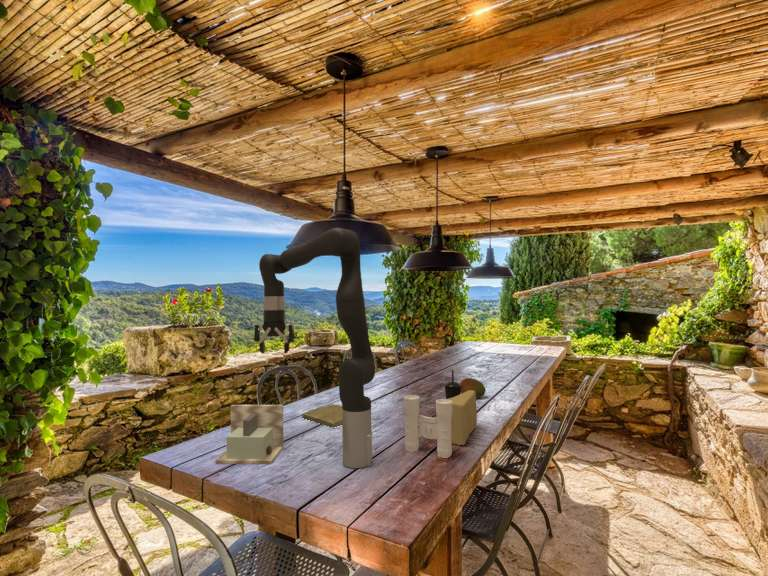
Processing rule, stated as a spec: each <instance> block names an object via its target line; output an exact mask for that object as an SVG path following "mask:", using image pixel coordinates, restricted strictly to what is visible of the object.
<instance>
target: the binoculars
mask: <svg viewBox="0 0 768 576" xmlns="http://www.w3.org/2000/svg"><path fill="white" fill-rule="evenodd" d="M403 412H404V418H405V419H404V422H405V423H404V428H405V429H404V436H405V437H404V447H405V449H406V450H407V451H417V450H418V449H419V446H420V440H419V438H422V437H423V438H424V439H428V440H436V441H437V445H436V453H437V457H438V456H439V457H442V458H448V457H450V456H451V455H452V452H453V446H452V445H453V444H452V443H451V418H452V401H451V400H448V399H446V398H441V399H436V400H435V414H436V417H431V416H430V417H429V416H426V415H423V414H419V413H420V396H419V395H415V394H408V395H404V396H403ZM405 449H404V450H405ZM406 450H405V451H406ZM419 450H420V449H419ZM419 450H418V451H419ZM407 451H406V452H407ZM418 451H417V452H418ZM452 456H453V455H452ZM439 457H438V458H439Z"/></svg>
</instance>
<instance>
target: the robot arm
mask: <svg viewBox="0 0 768 576" xmlns="http://www.w3.org/2000/svg"><path fill="white" fill-rule="evenodd" d="M324 256H325V257H326V256H333V257H338V258H340V265H341V277H340V281H339V283H338V287H337V289H336V294H335V304H336V314H337V319H338V321H339V324H340V326H341V327H342V329H343V331H344V333H345V334H346V337H347V338H348V340H349V341H348V342H349V344H350V348H351V349H350V350H351V358H348V359H345V360H343V361H342V362H341V363H340V365H339V369H338V375H337V376H338V392H339V393H338V395H339V400H340V402H341V406H342V426H341V428H342V429H341V431H342V432H341V433H342V434H341V436H342V441H341V442H342V443H341V445H342V447H341V448H342V455H341V456H342V465H343V466H345V467H346V468H350V469H363V468H366V467H371V466H372V461H373V429H372V400H371V398H370V397H369V396H366V395H365V391H364V385H367V384H369V383H371V382H372V381H373V380H374V378H375V376H376V365H375V360H374V356H373V351H372V348H371V347H372V346H371V344H370V343H371V342H370V336H369V335H370V334H369V329H368V328H369V327H368V322H367V313H366V312H367V311H366V304H365V297H364V290H363V289H364V288H363V279H362V270H361V269H362V268H361V241H360V239H359V236H358V234H357V233H356V232H355V231H354V230H352V229H351V230H350V229H346V228H342V227H334V228H333V227H332V228H331V229H328V230H326V231H325V232H323V233H322V234H320V235H318V236H317V237H315V238H313V239H311V240H308V241H307V242H305V243H303V244H300V245H296V246H294V247H290V248H288V249H285V250H284V251H282V252H281V253H280V254H272V253H271V254H270V253H265V254H263V255H262V256H261V258H260V259H259V263H258V265H259V268H258V269H259V271H260V276H261V279H262V283H263V306H262V308H263V324H262V325H261V324H255V325H254V333H253V334H254V335H253V341H254V342H257V343H259V352H260V354H265V353H266V342H265V341H266V340H267V338H269V337H271V338H272V337H276V338H277V337H280V338H281V339H282V341H283V342H284V343H283V349H284V351H283V352H284V354H288V352H289V351H290V343H291V342H292V341H294V340H295V328H294V327H295V326H294V324H293V323H291V324H286V313H285V312H286V307H285V306H286V305H285V304H286V303H285V284H284V282H283V281H282V280H279V279H277V276H276V275H282V274H286V273H288V272H289V271H291V270H293V269H295V268H299V267H302V266H305V265H307V264H309V263H310V262H312V261H313V260H314V259H316V258H318V257H324ZM262 330H263V331H264V333H263V334H262V335H261V331H262ZM286 330H287V331H288V335H287V333H285V331H286Z"/></svg>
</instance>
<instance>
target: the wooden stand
mask: <svg viewBox="0 0 768 576" xmlns="http://www.w3.org/2000/svg"><path fill="white" fill-rule="evenodd" d="M251 414H257V428H273V449H272V447H271V446H268V447H267V448H266V457H265V458H264V459H227V449H226V450H225V451H224V452H223V453H222V454H221V455H220V456H219V457H218V458H216V459H215V461H214V463H216V464H217V465H218V464H219V465H220V464H222V465H233V464H234V465H272V464H273V463H274V461H275V460H276V459H277V457H278V456H279V454H280V453H281V452H282V451H283V449H284V404H231V405H230V434H231V433H232V432H233V431H235V430H236V429H237V428H243V420H244V419H246V418H247V417H248V416H249V415H251ZM253 463H254V464H253Z"/></svg>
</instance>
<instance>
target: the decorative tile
mask: <svg viewBox="0 0 768 576" xmlns="http://www.w3.org/2000/svg"><path fill="white" fill-rule="evenodd" d="M301 418H304V419H303V420H305V419H307V420H306V421H308V420H310V421H309V422H311V421H314V422H317V423H316V424H318V423H320V424H319V425H321V424H323V425H322V426H324V425H326V426H325V427H327V426H329V427H328V428H331V427H333V428H332V429H335V428H334V427H337V426H339V427H341V426H340V425H342V405H340V404H333V403H332V404H329V405H326V406H318V407H317V408H315V409H310V410H308V411H307V412H302V416H301ZM314 422H313V423H314ZM337 428H338V427H337Z"/></svg>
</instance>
